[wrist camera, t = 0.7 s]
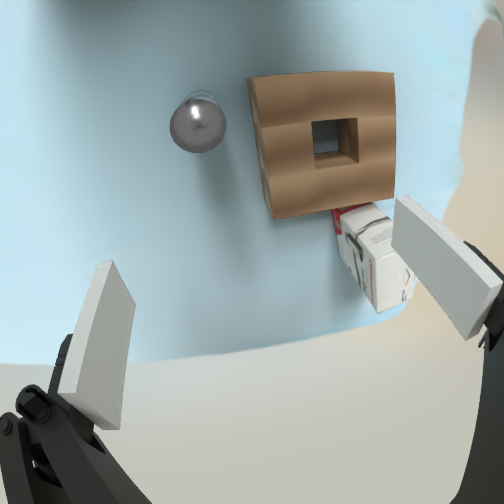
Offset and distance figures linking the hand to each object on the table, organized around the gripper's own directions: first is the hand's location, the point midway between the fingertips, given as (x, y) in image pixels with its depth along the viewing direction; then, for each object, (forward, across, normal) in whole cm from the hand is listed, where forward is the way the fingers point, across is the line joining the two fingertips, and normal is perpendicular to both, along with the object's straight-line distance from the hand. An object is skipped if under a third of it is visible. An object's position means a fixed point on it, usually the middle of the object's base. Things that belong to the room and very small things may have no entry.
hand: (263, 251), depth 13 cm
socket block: (+21, +10, -1) cm, 23 cm away
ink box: (+21, +14, -14) cm, 28 cm away
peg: (+21, -2, +4) cm, 21 cm away
